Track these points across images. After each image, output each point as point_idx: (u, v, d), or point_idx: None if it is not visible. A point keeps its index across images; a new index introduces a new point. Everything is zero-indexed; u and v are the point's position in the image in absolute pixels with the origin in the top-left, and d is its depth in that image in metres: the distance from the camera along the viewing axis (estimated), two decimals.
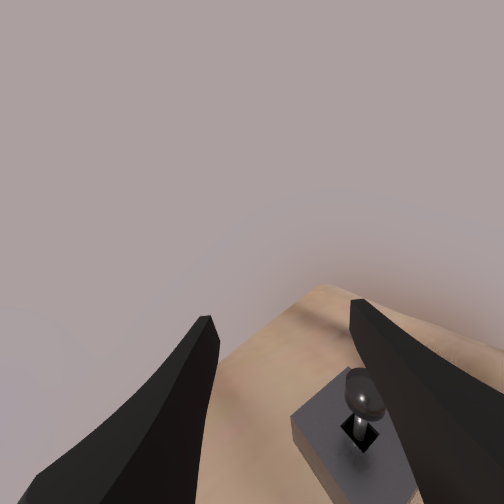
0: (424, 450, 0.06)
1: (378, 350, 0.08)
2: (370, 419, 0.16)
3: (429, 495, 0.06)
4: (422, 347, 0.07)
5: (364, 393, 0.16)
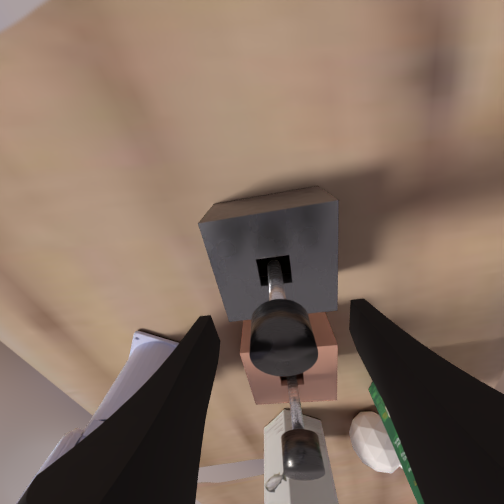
0: (424, 450, 0.06)
1: (378, 350, 0.08)
2: None
3: (429, 495, 0.06)
4: (422, 347, 0.07)
5: (269, 360, 0.09)
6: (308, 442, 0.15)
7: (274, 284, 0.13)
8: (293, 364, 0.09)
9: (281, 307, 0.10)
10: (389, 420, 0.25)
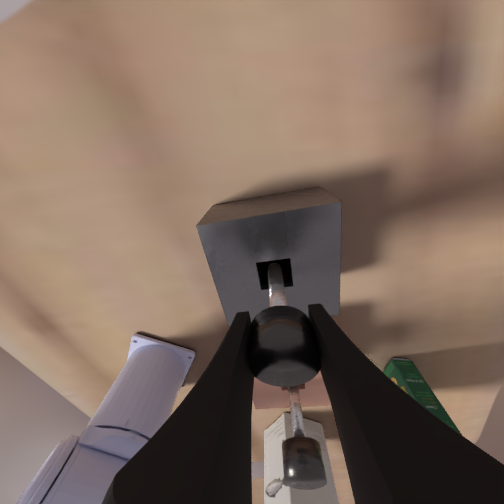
0: (350, 452, 0.06)
1: (324, 354, 0.08)
2: None
3: (356, 495, 0.06)
4: (357, 352, 0.07)
5: (269, 370, 0.09)
6: (309, 450, 0.15)
7: (275, 288, 0.12)
8: (295, 374, 0.09)
9: (282, 314, 0.09)
10: None
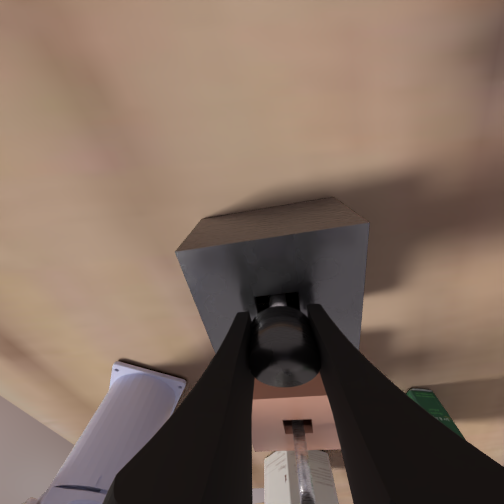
0: (349, 452, 0.06)
1: (322, 354, 0.08)
2: None
3: (354, 495, 0.06)
4: (355, 352, 0.07)
5: (269, 371, 0.09)
6: None
7: None
8: (294, 375, 0.09)
9: (282, 315, 0.09)
10: None
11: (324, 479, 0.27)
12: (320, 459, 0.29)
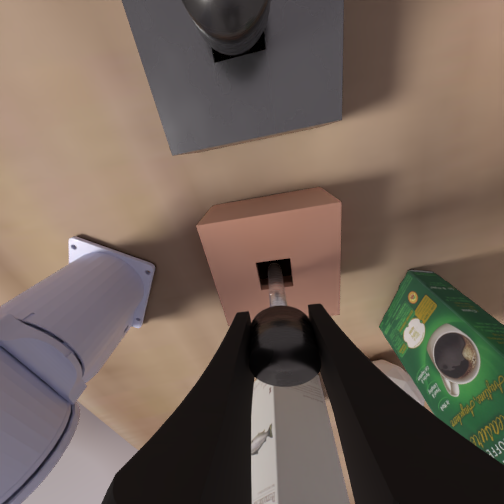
0: (351, 452, 0.06)
1: (324, 354, 0.08)
2: (210, 45, 0.08)
3: (356, 495, 0.06)
4: (357, 352, 0.07)
5: None
6: (293, 319, 0.09)
7: None
8: None
9: None
10: (409, 352, 0.18)
11: (313, 395, 0.25)
12: None
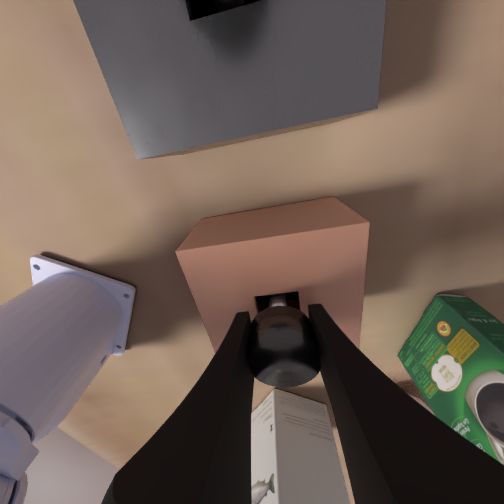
0: (350, 452, 0.06)
1: (323, 354, 0.08)
2: None
3: (356, 495, 0.06)
4: (357, 352, 0.07)
5: None
6: (292, 319, 0.09)
7: None
8: None
9: None
10: (439, 395, 0.15)
11: (321, 432, 0.22)
12: (316, 410, 0.23)
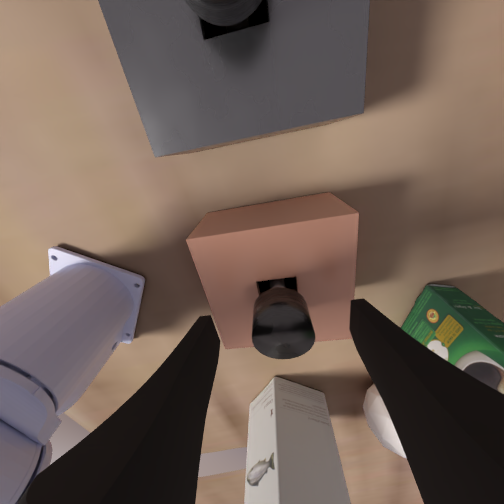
0: (424, 450, 0.06)
1: (378, 350, 0.08)
2: (196, 11, 0.06)
3: (429, 495, 0.06)
4: (422, 347, 0.07)
5: None
6: (290, 298, 0.10)
7: None
8: None
9: None
10: None
11: (319, 417, 0.23)
12: (314, 397, 0.24)
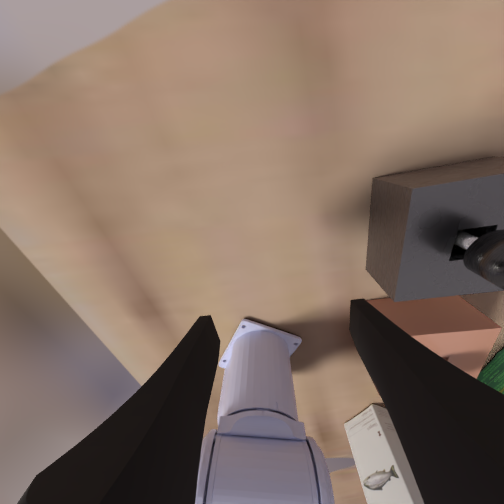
0: (425, 450, 0.06)
1: (378, 350, 0.08)
2: None
3: (429, 495, 0.06)
4: (422, 347, 0.07)
5: None
6: None
7: None
8: None
9: None
10: None
11: None
12: None
